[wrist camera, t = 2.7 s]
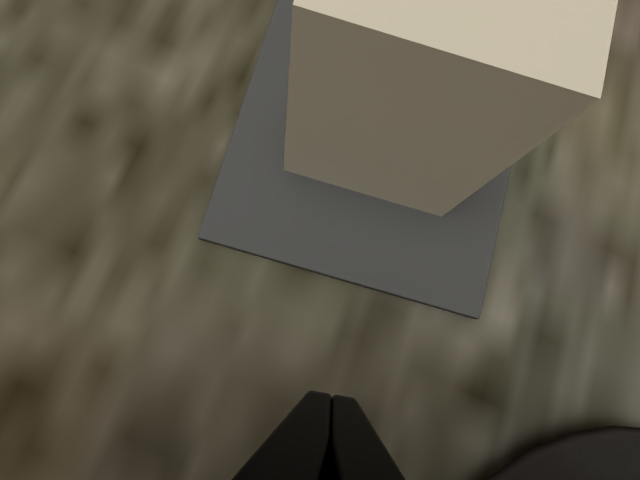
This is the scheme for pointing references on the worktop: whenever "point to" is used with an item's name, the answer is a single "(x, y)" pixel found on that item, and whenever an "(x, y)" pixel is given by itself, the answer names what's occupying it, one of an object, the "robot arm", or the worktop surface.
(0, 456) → the worktop surface
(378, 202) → the mat
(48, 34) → the worktop surface
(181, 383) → the worktop surface
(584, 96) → the box
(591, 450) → the casserole
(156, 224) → the worktop surface
